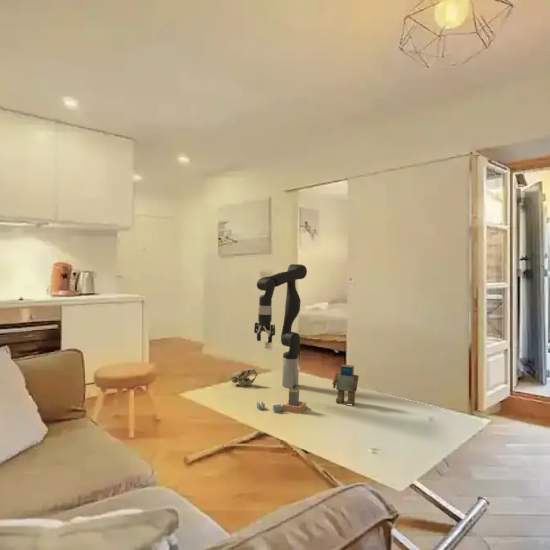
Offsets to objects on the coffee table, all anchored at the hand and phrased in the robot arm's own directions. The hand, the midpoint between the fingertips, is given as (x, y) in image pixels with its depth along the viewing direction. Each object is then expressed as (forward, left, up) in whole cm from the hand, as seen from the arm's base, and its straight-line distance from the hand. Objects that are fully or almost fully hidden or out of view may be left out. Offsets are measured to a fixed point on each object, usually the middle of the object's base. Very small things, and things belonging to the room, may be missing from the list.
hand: (264, 341), depth 241 cm
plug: (+6, +28, -29) cm, 41 cm away
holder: (+6, +28, -30) cm, 42 cm away
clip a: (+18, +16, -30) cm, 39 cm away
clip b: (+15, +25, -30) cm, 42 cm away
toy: (-22, +41, -30) cm, 56 cm away
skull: (-6, -22, -30) cm, 38 cm away
